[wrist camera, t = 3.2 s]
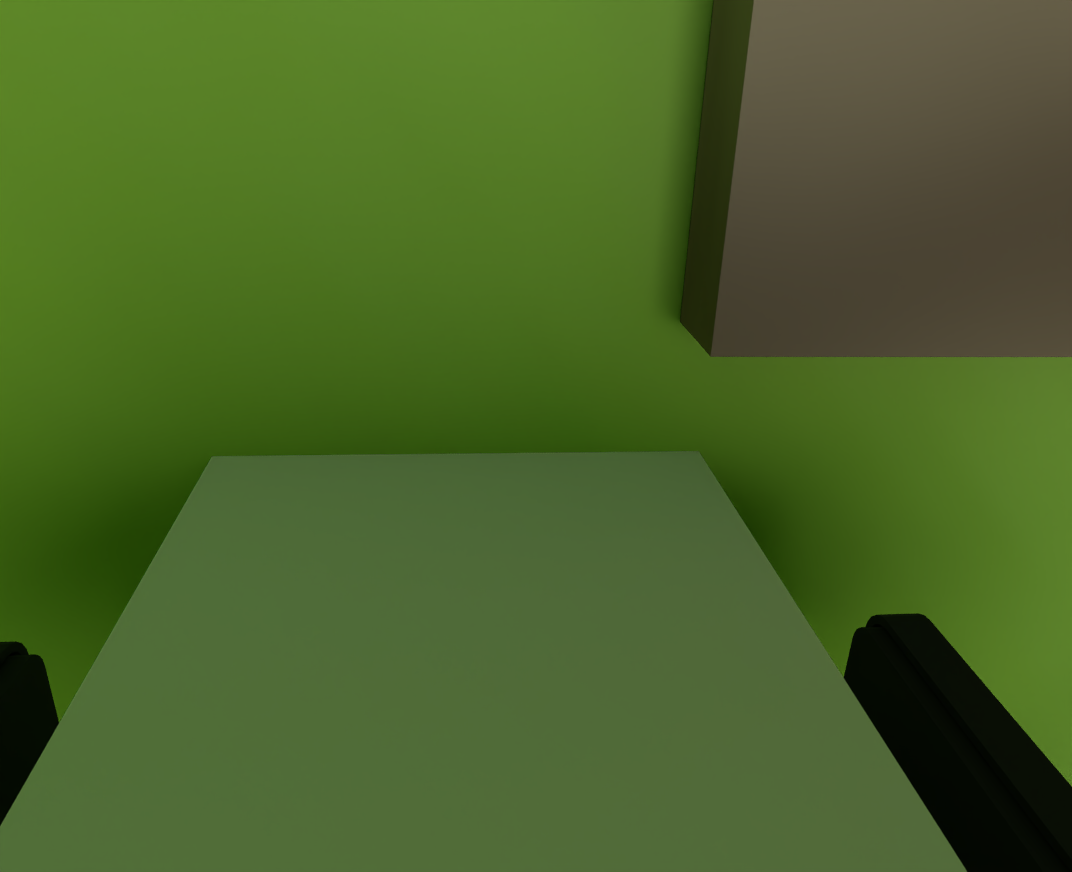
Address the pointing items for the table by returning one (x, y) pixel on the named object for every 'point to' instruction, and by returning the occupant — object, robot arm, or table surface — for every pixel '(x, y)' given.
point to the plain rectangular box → (465, 686)
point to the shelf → (884, 180)
